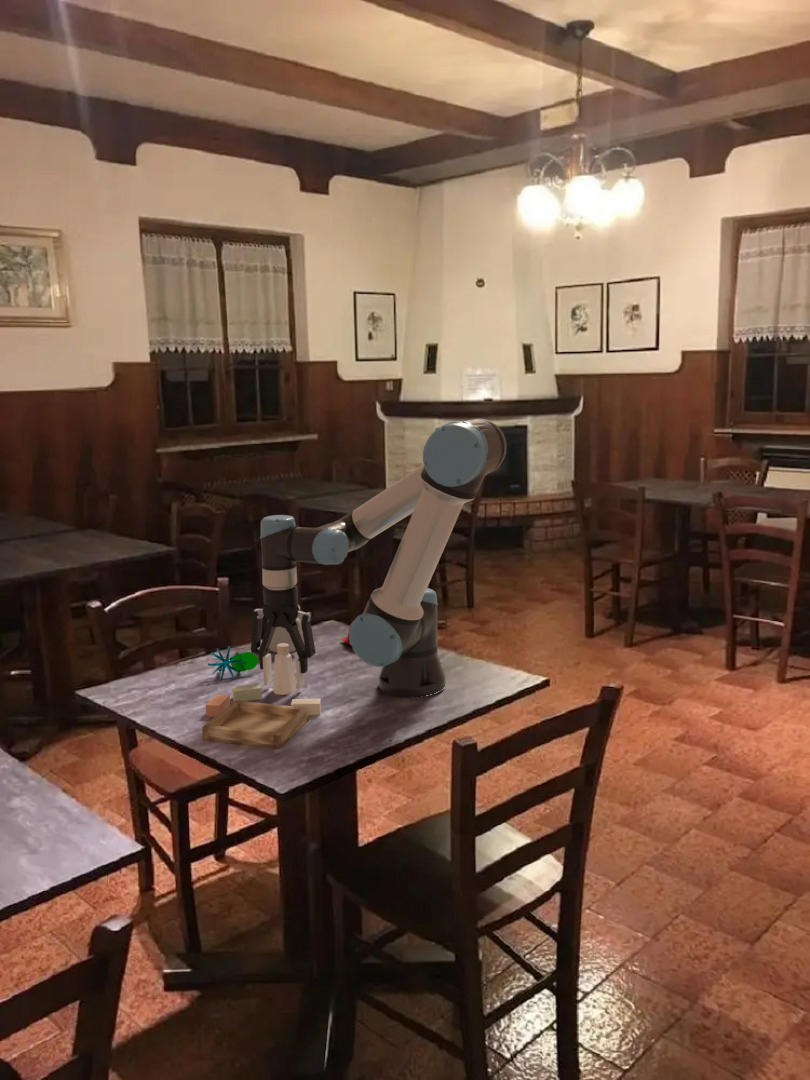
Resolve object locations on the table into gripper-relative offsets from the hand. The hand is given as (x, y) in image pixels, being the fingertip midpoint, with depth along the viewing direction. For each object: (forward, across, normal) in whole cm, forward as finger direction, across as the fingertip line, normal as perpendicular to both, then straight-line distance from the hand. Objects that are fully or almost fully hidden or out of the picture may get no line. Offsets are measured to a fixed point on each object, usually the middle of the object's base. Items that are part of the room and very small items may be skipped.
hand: (284, 684), depth 203 cm
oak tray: (+2, -4, +22) cm, 22 cm away
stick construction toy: (+3, +16, -5) cm, 17 cm away
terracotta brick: (+2, +8, +15) cm, 17 cm away
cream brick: (+2, -10, +11) cm, 15 cm away
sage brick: (+2, +6, +6) cm, 9 cm away
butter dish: (+2, -7, -37) cm, 38 cm away
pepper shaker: (+2, 0, 0) cm, 2 cm away
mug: (+2, +12, -28) cm, 30 cm away
